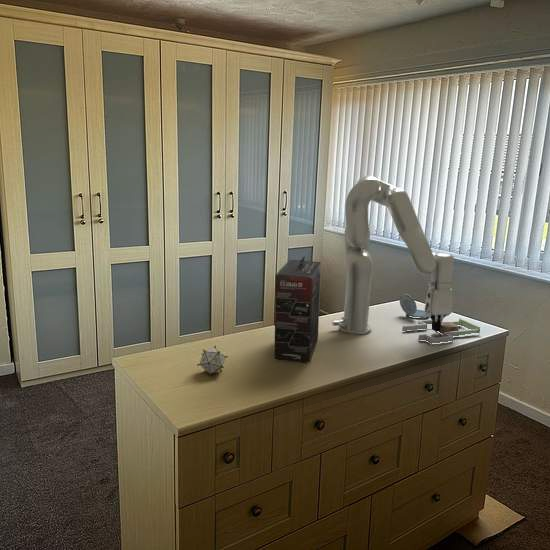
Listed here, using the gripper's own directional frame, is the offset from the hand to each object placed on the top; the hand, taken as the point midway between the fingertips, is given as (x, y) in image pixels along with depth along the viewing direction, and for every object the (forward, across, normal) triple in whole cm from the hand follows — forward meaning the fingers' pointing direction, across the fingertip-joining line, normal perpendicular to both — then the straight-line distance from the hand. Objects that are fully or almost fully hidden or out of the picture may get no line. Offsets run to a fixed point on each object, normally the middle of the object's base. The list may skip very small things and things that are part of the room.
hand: (435, 330), depth 201 cm
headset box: (+2, -60, -1) cm, 60 cm away
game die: (+2, -92, -13) cm, 93 cm away
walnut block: (+2, +5, -1) cm, 5 cm away
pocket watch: (+2, +7, +23) cm, 24 cm away
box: (+2, +2, 0) cm, 3 cm away
